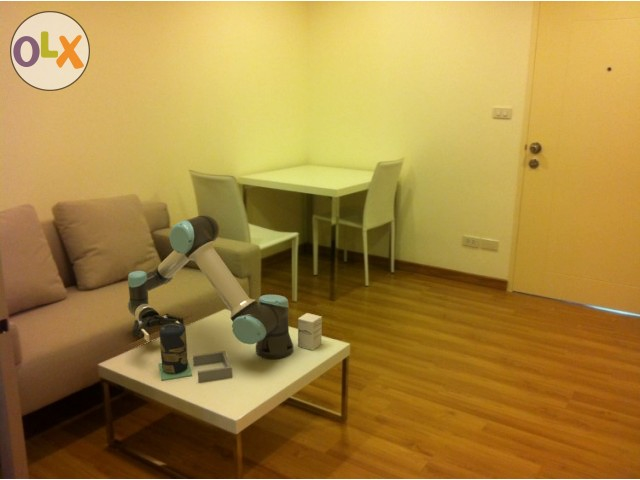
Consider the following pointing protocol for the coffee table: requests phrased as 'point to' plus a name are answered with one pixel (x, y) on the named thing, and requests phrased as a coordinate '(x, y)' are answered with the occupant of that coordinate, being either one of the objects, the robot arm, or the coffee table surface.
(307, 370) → the coffee table surface
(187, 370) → the mat
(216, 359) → the frame
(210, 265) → the robot arm
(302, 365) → the coffee table surface
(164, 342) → the canister
